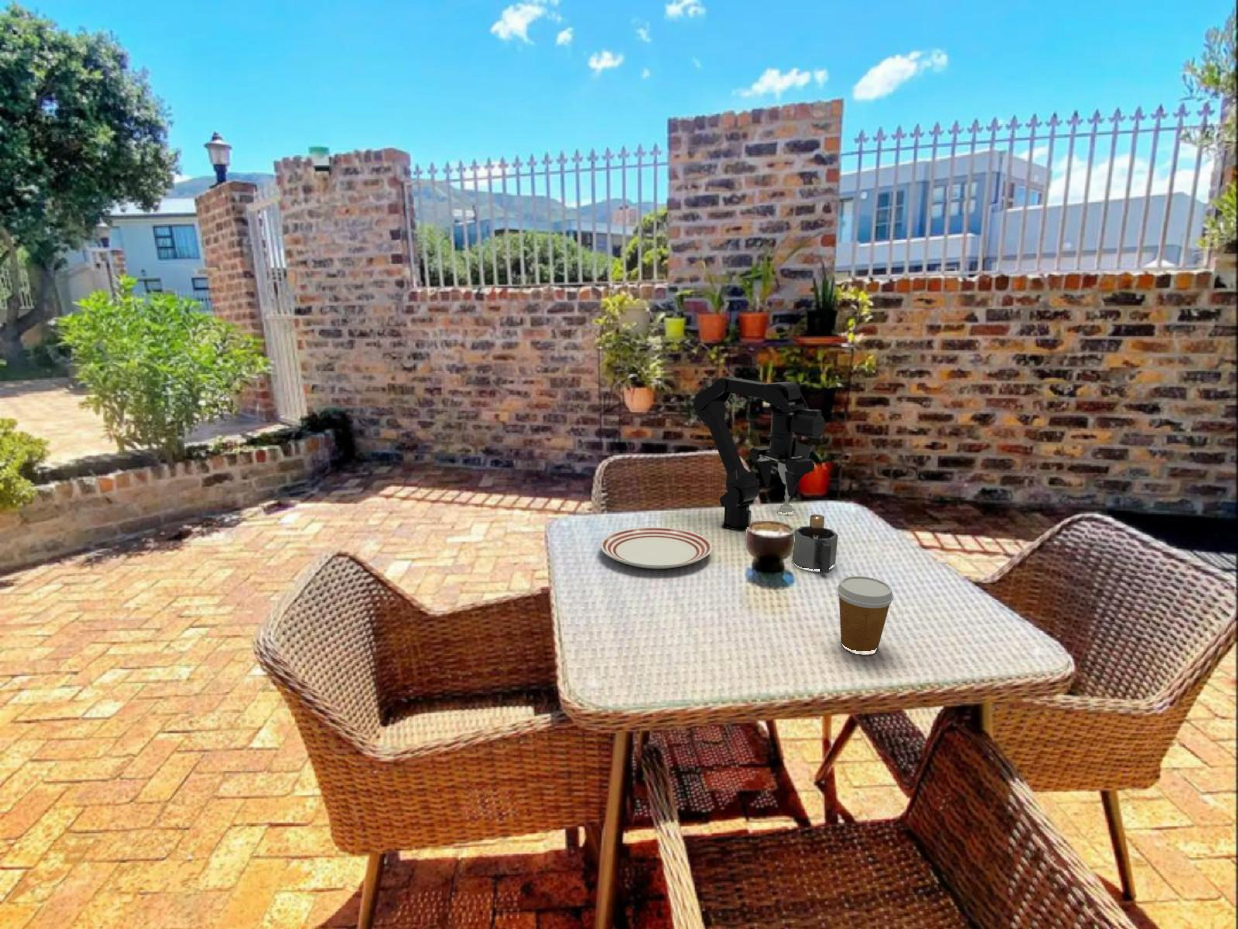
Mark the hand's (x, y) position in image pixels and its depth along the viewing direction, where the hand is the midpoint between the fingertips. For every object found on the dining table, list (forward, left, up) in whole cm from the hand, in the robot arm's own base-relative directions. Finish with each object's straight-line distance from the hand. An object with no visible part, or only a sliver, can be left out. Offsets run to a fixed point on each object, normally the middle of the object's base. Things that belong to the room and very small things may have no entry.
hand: (778, 491), depth 167 cm
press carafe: (+13, -14, -13) cm, 23 cm away
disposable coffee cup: (+26, -48, -13) cm, 56 cm away
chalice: (-2, +23, -13) cm, 27 cm away
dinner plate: (-24, -24, -13) cm, 37 cm away
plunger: (+12, -13, -12) cm, 21 cm away
